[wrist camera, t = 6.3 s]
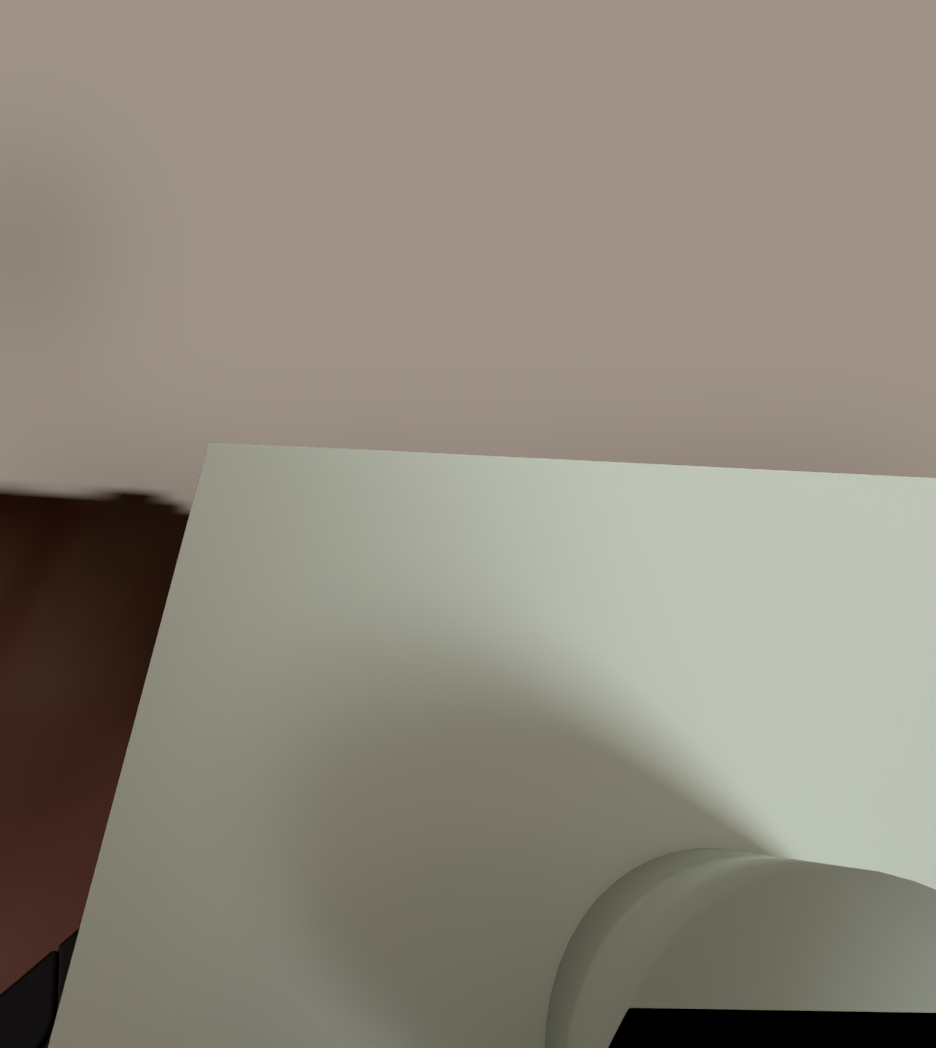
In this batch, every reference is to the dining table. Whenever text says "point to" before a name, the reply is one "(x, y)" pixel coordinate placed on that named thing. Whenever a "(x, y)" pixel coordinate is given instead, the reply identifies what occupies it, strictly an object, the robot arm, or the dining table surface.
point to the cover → (526, 763)
